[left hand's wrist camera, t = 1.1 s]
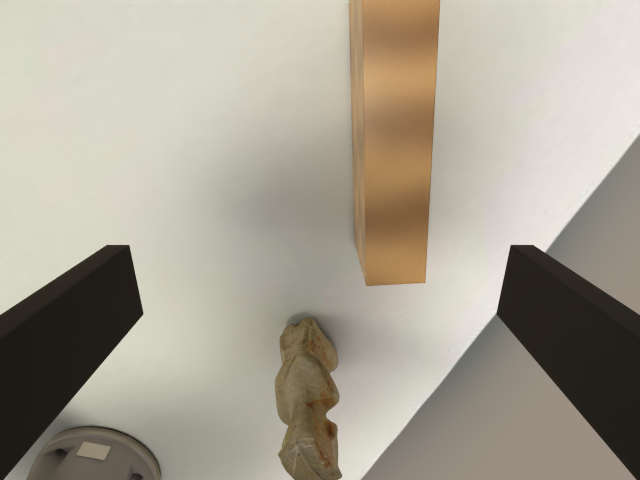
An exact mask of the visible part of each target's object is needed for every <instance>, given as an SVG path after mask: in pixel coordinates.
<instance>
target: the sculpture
mask: <svg viewBox="0 0 640 480" xmlns="http://www.w3.org/2000/svg"><path fill="white" fill-rule="evenodd" d="M280 351H281V358H282V362H283V365H282V367H281V369H280V371H279V373H278V375H277V377H276V379H275V393H276V403H277V411H278V415H279V417H280V419H281V420H282V421H283V422H284V423H285V424H287V425H289V426H288V429H287V432H286V435H285V438H284V441H283V443H282V449H281V450H280V451H279V454H278V456H279V457H280V459H281V462H282V465H283V466H284V468H285V470H286V471H287V472H288V473H289V474H290V475H291V476H292V477H293V479H294V480H338V479H340V478H341V477H342V474H341V472H340V470H339V467H338V442H337V431H338V429H337V425H336V424H335V423H333V422H331V421H330V420H328V419H327V418H326V413H327V412H328V410H330V409H331V408H332V407H334V406H335V405H336V404H337V403H338V401H339V392H338V389H337V387H336V385H335V383H334V381H333V379H332V378H331V375H330V373H329V372H331V371H333V370H335V369H336V367H337V364H338V356H337V353H336V350H335V349H334V347H333V345H332V344H331V343H330V341H329V340H328V339H327V338H326V336H325V335H324V334H323V333H322V332H321V331H320V329H319V328H318V326H317V324H316V321H315V320H314V319H313V318H311V317H310V318H307V319H304V320H302V321H301V322H300V324H299V325H298V326H295V325H293V324H292V325H290V326H288V327H286V328H285V329H284V334H282V335H281V336H280Z"/></svg>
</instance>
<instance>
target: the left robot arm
mask: <svg viewBox="0 0 640 480" xmlns="http://www.w3.org/2000/svg"><path fill="white" fill-rule="evenodd" d="M142 315H143V309H142V304H141V300H140V295H139V290H138V285H137V280H136V275H135V271H134V266H133V261H132V256H131V251H130V246H129V245H106V246H105V247H103V248H102V249H100V250H99V251H97V252H96V253H94V254H93V255H91V256H90V257H88V258H87V259H85V260H83V261H82V262H80V263H79V264H77V265H76V266H74V267H73V268H71V269H70V270H68V271H67V272H65V273H64V274H62V275H61V276H59V277H58V278H56V279H55V280H53V281H51V282H50V283H48V284H47V285H45V286H44V287H42V288H41V289H39V290H38V291H36V292H35V293H33V294H32V295H30V296H29V297H27V298H26V299H24V300H23V301H21V302H19V303H18V304H16V305H15V306H13V307H12V308H10V309H9V310H7V311H6V312H4V313H3V314H1V315H0V480H4V478H5V477H6V476H7V475H8V474H9V472H10V471H11V470H12V469H13V468H14V467H15V465H16V464H17V463H18V462H19V461H20V459H21V458H22V457H23V456H24V455H25V454H26V452H27V451H28V450H29V449H30V448H31V446H32V445H33V444H34V443H35V442H36V441H37V439H38V438H39V437H40V436H41V435H42V433H43V432H44V431H45V430H46V429H47V428H48V426H49V425H50V424H51V423H52V422H53V420H54V419H55V418H56V417H57V416H58V415H59V413H60V412H61V411H62V410H63V409H64V407H65V406H66V405H67V404H68V403H69V401H70V400H71V399H72V398H73V397H74V396H75V394H76V393H77V392H78V391H79V390H80V388H81V387H82V386H83V385H84V384H85V383H86V381H87V380H88V379H89V378H90V377H91V375H92V374H93V373H94V372H95V371H96V370H97V368H98V367H99V366H100V365H101V364H102V362H103V361H104V360H105V359H106V358H107V357H108V355H109V354H110V353H111V352H112V351H113V349H114V348H115V347H116V346H117V345H118V344H119V342H120V341H121V340H122V339H123V338H124V336H125V335H126V334H127V333H128V332H129V331H130V329H131V328H132V327H133V326H134V325H135V323H136V322H137V321H138V320H139V319H140V318H141V316H142ZM497 315H498V316H499V318H500V319H501V320H502V321H503V322H504V323H505V325H506V326H507V327H508V328H509V329H510V331H511V332H512V333H513V334H514V335H515V336H516V338H517V339H518V340H519V341H520V342H521V344H522V345H523V346H524V347H525V348H526V349H527V351H528V352H529V353H530V354H531V355H532V356H533V358H534V359H535V360H536V361H537V362H538V364H539V365H540V366H541V367H542V368H543V370H544V371H545V372H546V373H547V374H548V375H549V377H550V378H551V379H552V380H553V381H554V382H555V384H556V385H557V386H558V387H559V388H560V390H561V391H562V392H563V393H564V394H565V396H566V397H567V398H568V399H569V400H570V401H571V403H572V404H573V405H574V406H575V407H576V409H577V410H578V411H579V412H580V413H581V415H582V416H583V417H584V418H585V419H586V420H587V422H588V423H589V424H590V425H591V426H592V428H593V429H594V430H595V431H596V432H597V433H598V435H599V436H600V437H601V438H602V439H603V440H604V442H605V443H606V444H607V445H608V446H609V448H610V449H611V450H612V451H613V452H614V454H615V455H616V456H617V457H618V458H619V459H620V461H621V462H622V463H623V464H624V465H625V466H626V468H627V469H628V470H629V471H630V472H631V474H632V475H633V476H634V477H635V478H636V480H640V315H639V314H637V313H636V312H634V311H633V310H631V309H630V308H628V307H627V306H625V305H624V304H622V303H621V302H619V301H617V300H616V299H614V298H613V297H611V296H610V295H608V294H607V293H605V292H604V291H602V290H601V289H599V288H598V287H596V286H595V285H593V284H592V283H590V282H589V281H587V280H585V279H584V278H582V277H581V276H579V275H578V274H576V273H575V272H573V271H572V270H570V269H569V268H567V267H566V266H564V265H563V264H561V263H560V262H558V261H557V260H555V259H553V258H552V257H550V256H549V255H547V254H546V253H544V252H543V251H541V250H540V249H538V248H537V247H535V246H534V245H511V246H510V251H509V256H508V261H507V266H506V271H505V275H504V280H503V285H502V290H501V295H500V300H499V304H498V309H497ZM27 480H160V472H159V467H158V465H157V462H156V460H155V459H154V457H153V456H152V455H151V453H150V452H149V451H148V450H147V449H146V448H145V447H144V446H143V445H141V444H140V443H139V442H137V441H136V440H134V439H132V438H130V437H128V436H126V435H124V434H122V433H119V432H116V431H113V430H109V429H104V428H96V427H81V428H74V429H70V430H67V431H64V432H62V433H60V434H58V435H56V436H55V437H53V438H52V439H51V440H50V441H49V442H48V443H47V445H46V446H45V447H44V448H43V450H42V451H41V452H40V453H39V455H38V456H37V458H36V460H35V461H34V463H33V465H32V468H31V470H30V472H29V475H28V477H27Z"/></svg>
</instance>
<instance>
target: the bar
mask: <svg viewBox="0 0 640 480" xmlns="http://www.w3.org/2000/svg"><path fill="white" fill-rule="evenodd" d="M439 12H440V0H350V1H349V25H350V65H351V106H352V146H353V187H354V227H355V246H356V250H357V253H358V257H359V261H360V264H361V268H362V272H363V275H364V279H365V283H366V286H374V285H393V284H411V283H425V277H426V258H427V239H428V220H429V202H430V183H431V164H432V145H433V126H434V107H435V88H436V69H437V50H438V31H439Z"/></svg>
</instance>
